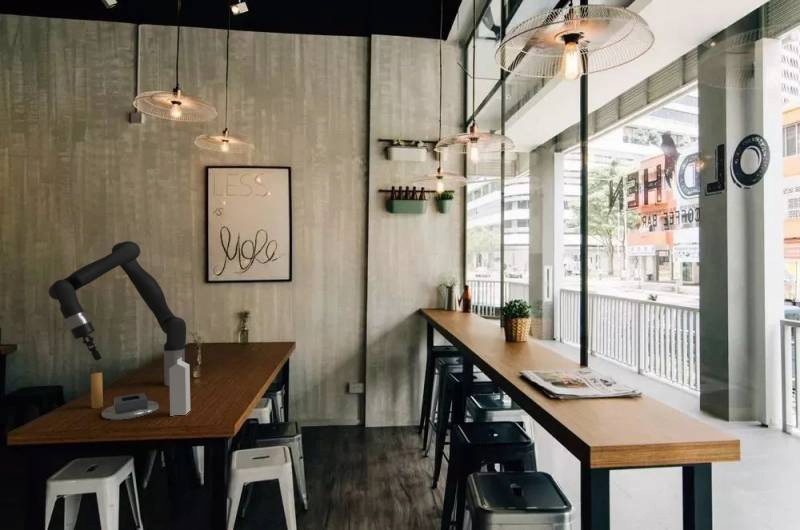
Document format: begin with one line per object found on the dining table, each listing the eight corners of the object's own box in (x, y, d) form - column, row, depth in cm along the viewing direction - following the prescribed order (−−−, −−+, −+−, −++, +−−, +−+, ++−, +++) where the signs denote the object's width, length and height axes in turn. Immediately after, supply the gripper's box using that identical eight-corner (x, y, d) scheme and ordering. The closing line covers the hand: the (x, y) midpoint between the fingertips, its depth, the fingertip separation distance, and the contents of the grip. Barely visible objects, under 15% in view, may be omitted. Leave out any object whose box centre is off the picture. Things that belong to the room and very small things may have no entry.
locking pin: (102, 405, 202) (102, 372, 202) (103, 407, 199) (102, 373, 198) (91, 406, 200) (90, 373, 200) (91, 409, 196) (91, 375, 196)
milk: (190, 411, 192) (189, 356, 192) (186, 415, 186) (185, 359, 186) (174, 412, 191) (173, 357, 191) (169, 416, 185) (169, 360, 185)
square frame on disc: (155, 401, 206) (154, 388, 206) (161, 413, 189) (161, 399, 189) (100, 410, 195) (100, 396, 195) (102, 423, 178) (102, 409, 178)
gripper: (89, 319, 194) (108, 355, 195) (90, 322, 206) (108, 355, 207) (68, 328, 190) (88, 364, 191) (71, 330, 202) (89, 364, 203)
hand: (98, 359), depth 199 cm, fingers open, 8 cm apart
